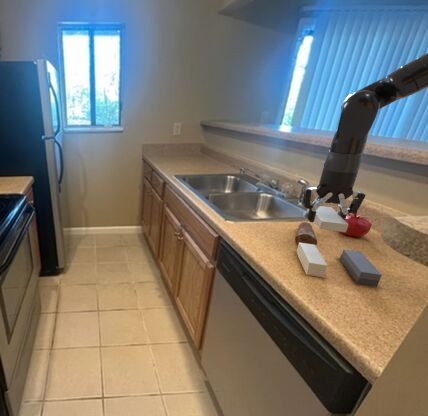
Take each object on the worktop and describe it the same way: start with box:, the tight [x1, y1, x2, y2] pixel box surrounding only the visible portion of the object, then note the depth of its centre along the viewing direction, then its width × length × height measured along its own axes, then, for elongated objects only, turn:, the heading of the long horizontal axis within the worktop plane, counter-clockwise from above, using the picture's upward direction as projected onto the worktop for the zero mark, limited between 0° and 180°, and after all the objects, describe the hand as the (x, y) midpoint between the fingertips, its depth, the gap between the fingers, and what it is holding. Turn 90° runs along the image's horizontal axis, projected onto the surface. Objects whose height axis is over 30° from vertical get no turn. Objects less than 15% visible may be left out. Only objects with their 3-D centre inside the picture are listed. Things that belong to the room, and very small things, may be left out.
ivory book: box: [306, 205, 348, 233], centre depth 82 cm, size 6×14×2 cm, turn 157°
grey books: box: [339, 248, 382, 288], centre depth 83 cm, size 4×14×4 cm, turn 157°
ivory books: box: [296, 243, 328, 279], centre depth 87 cm, size 4×14×4 cm, turn 157°
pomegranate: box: [337, 211, 372, 238], centre depth 105 cm, size 10×10×9 cm
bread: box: [294, 221, 318, 246], centre depth 103 cm, size 6×19×6 cm, turn 143°
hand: (324, 223), depth 82 cm, fingers closed on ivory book, 6 cm apart
